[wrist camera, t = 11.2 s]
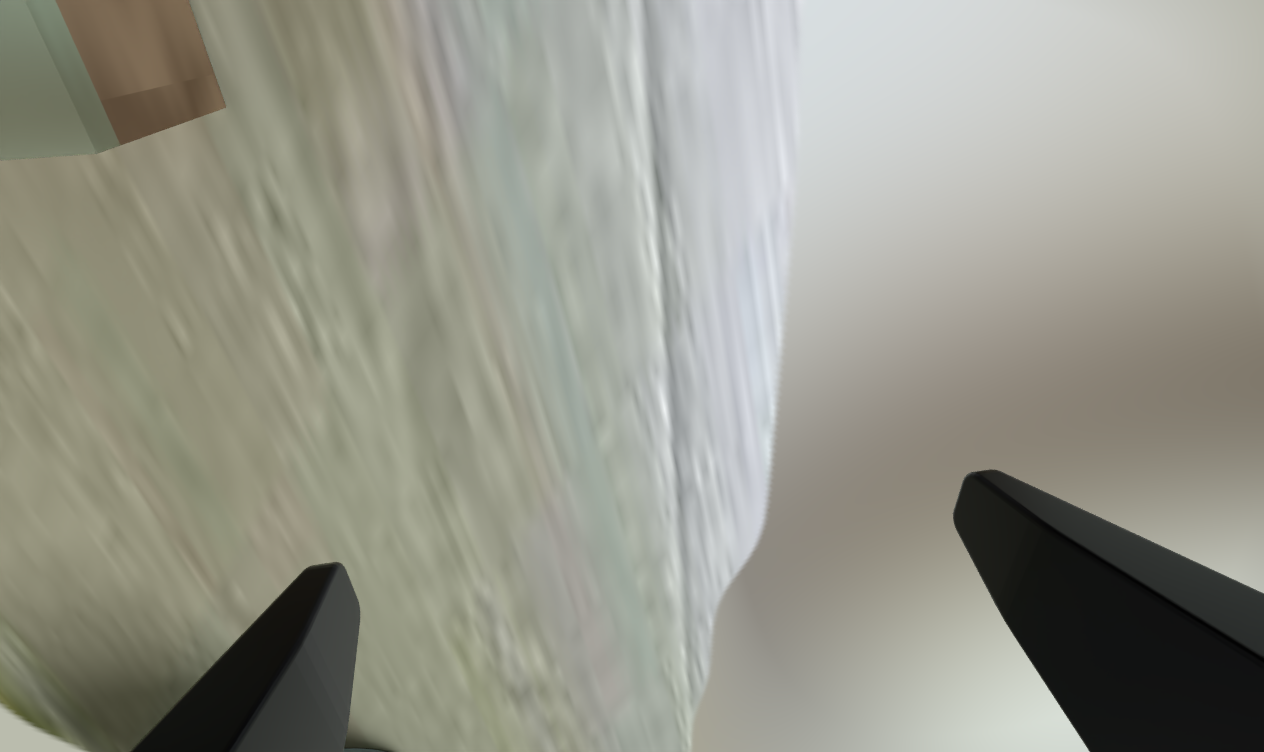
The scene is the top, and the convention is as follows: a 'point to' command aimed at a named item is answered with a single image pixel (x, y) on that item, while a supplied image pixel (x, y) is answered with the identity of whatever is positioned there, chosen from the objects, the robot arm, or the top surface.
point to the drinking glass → (361, 750)
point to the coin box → (98, 74)
